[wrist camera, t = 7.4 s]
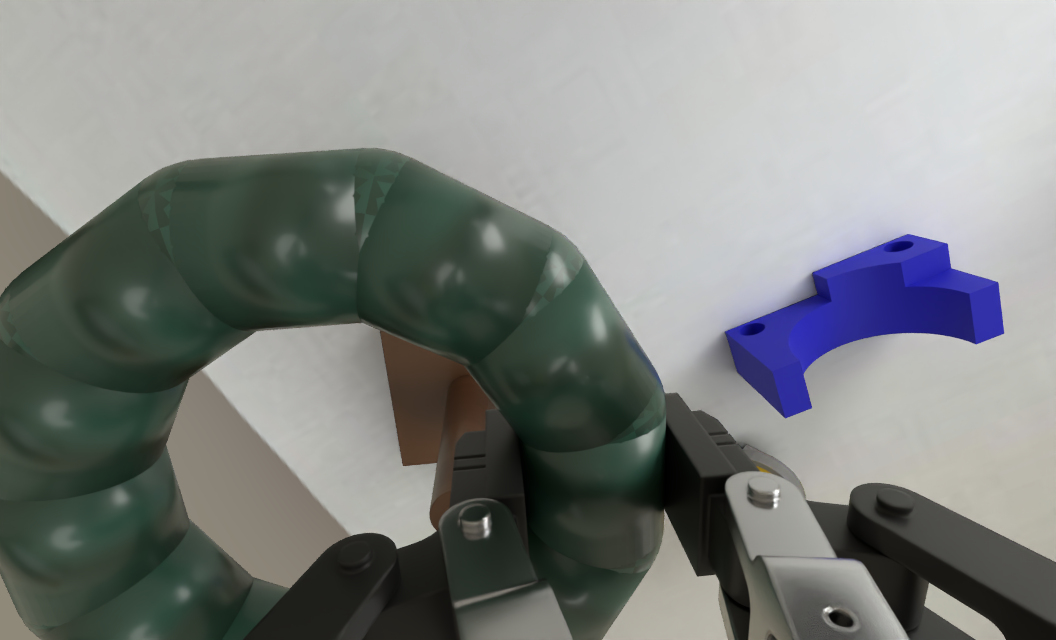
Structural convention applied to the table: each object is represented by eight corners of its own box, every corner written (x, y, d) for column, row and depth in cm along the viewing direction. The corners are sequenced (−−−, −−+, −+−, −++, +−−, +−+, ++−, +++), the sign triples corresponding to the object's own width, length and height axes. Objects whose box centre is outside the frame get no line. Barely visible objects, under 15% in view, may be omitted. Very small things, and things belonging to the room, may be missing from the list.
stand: (384, 320, 33) (325, 428, 21) (536, 307, 33) (564, 405, 21) (406, 453, 35) (365, 613, 24) (545, 439, 36) (574, 590, 24)
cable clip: (908, 233, 33) (995, 255, 27) (919, 300, 35) (1004, 333, 29) (718, 310, 34) (765, 346, 28) (737, 372, 35) (785, 418, 30)
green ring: (-47, 174, 11) (-247, 188, 8) (644, 129, 12) (699, 127, 9) (148, 689, 15) (66, 824, 12) (641, 635, 16) (677, 750, 13)
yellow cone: (774, 501, 39) (712, 605, 33) (724, 441, 40) (653, 532, 34) (839, 481, 35) (782, 596, 29) (781, 415, 36) (713, 513, 30)
